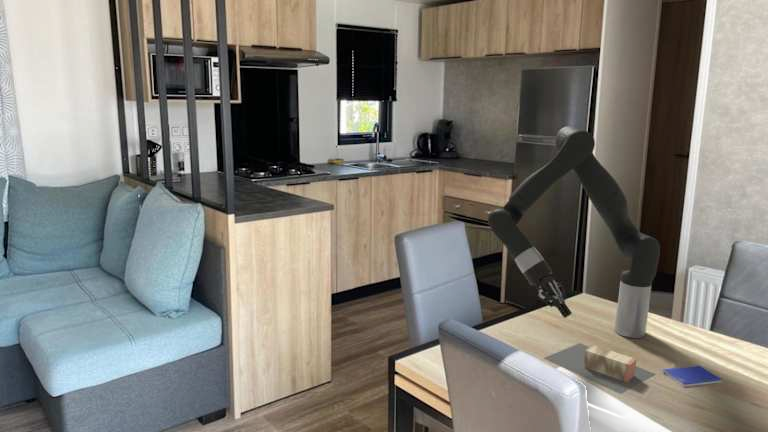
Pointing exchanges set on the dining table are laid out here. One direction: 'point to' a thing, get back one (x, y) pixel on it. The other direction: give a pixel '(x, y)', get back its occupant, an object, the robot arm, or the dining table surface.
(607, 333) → the dining table surface
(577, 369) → the rubber mat
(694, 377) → the hard drive
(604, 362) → the birch block
